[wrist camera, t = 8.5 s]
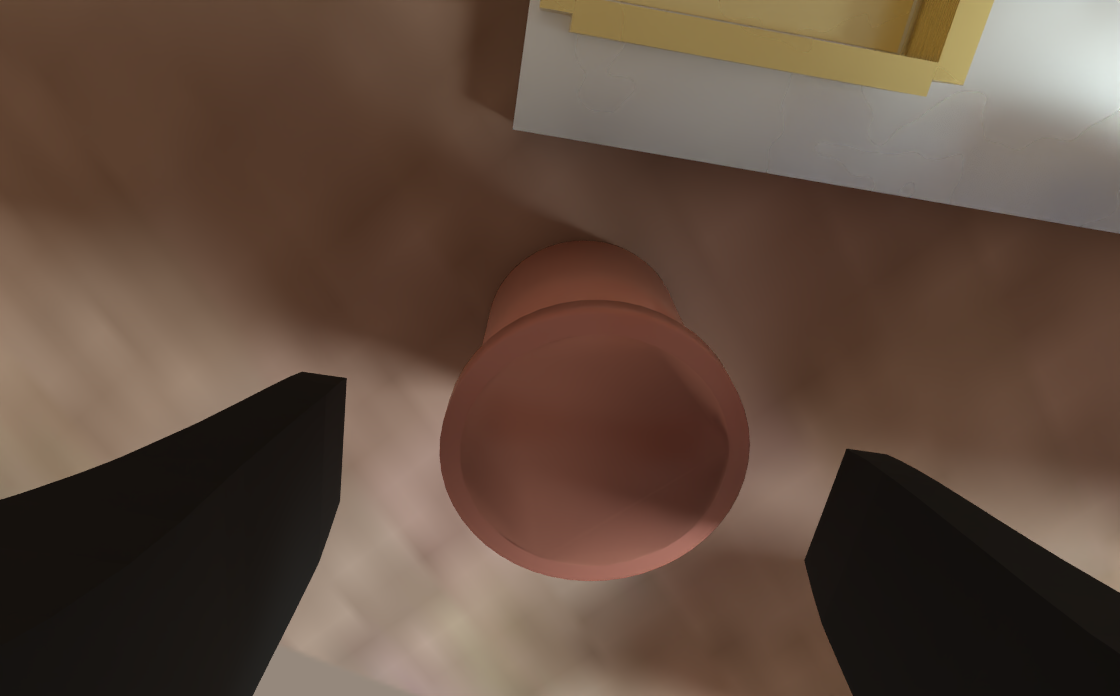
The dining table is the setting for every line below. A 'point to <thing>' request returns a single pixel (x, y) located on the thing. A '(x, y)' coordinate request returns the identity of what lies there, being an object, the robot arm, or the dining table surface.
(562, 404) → the cap
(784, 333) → the dining table surface
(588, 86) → the panel
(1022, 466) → the dining table surface
